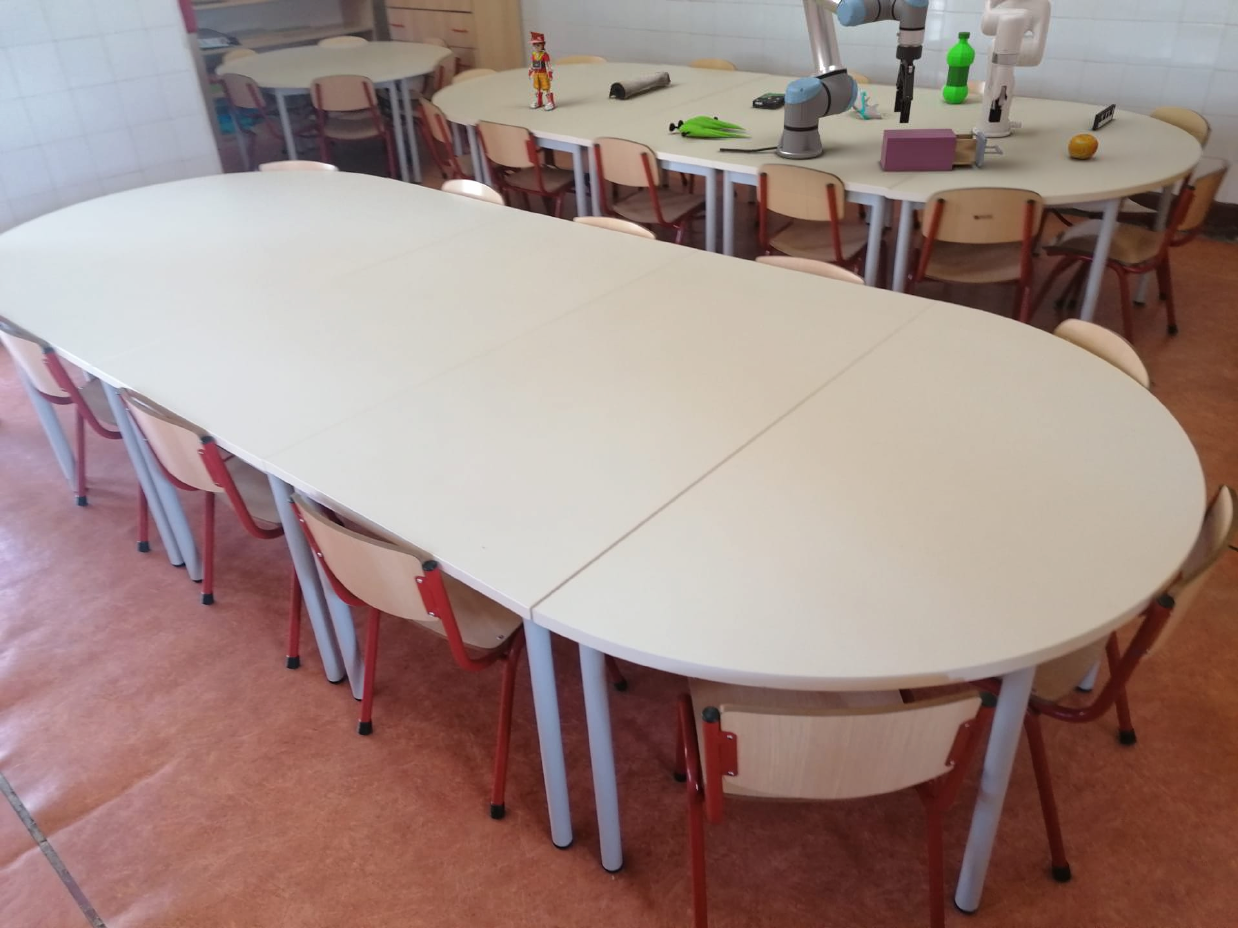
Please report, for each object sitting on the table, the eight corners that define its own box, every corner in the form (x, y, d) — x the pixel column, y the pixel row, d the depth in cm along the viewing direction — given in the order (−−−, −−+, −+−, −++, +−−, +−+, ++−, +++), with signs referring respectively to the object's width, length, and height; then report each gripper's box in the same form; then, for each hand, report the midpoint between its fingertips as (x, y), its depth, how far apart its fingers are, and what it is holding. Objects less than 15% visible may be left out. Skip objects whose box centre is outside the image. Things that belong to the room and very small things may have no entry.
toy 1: (525, 109, 381) (517, 32, 364) (534, 104, 388) (527, 28, 371) (550, 110, 377) (543, 32, 360) (559, 105, 384) (553, 28, 367)
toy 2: (658, 135, 331) (731, 150, 319) (659, 121, 329) (733, 135, 316) (693, 123, 352) (763, 136, 339) (694, 110, 349) (765, 122, 336)
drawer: (995, 157, 291) (1000, 131, 286) (1001, 166, 284) (1006, 139, 279) (914, 158, 294) (917, 132, 290) (918, 167, 287) (921, 140, 282)
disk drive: (775, 110, 359) (790, 101, 369) (775, 102, 358) (790, 94, 368) (751, 108, 364) (767, 99, 374) (752, 100, 362) (767, 92, 372)
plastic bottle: (973, 101, 354) (984, 32, 339) (955, 106, 349) (966, 36, 335) (952, 97, 361) (962, 29, 346) (934, 102, 356) (944, 33, 342)
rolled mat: (651, 76, 408) (662, 61, 399) (662, 93, 408) (674, 79, 400) (605, 92, 391) (616, 77, 383) (617, 110, 391) (628, 95, 383)
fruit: (1064, 149, 286) (1082, 126, 283) (1061, 151, 293) (1078, 129, 290) (1086, 163, 284) (1105, 141, 281) (1083, 166, 292) (1101, 144, 289)
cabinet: (946, 160, 294) (951, 128, 288) (951, 170, 286) (957, 137, 280) (880, 161, 297) (883, 129, 291) (883, 171, 289) (887, 138, 283)
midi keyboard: (1095, 130, 313) (1099, 115, 310) (1091, 129, 314) (1095, 115, 311) (1112, 119, 323) (1116, 104, 320) (1108, 118, 324) (1112, 104, 321)
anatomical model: (844, 88, 347) (870, 81, 346) (847, 115, 353) (872, 108, 352) (856, 97, 335) (882, 90, 334) (858, 125, 341) (884, 118, 340)
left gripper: (892, 37, 282) (884, 108, 294) (902, 53, 262) (893, 128, 274) (916, 36, 281) (908, 107, 293) (929, 52, 261) (919, 127, 273)
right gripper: (987, 54, 277) (976, 116, 287) (997, 64, 265) (986, 128, 275) (1012, 53, 276) (1001, 115, 286) (1024, 63, 264) (1011, 128, 274)
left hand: (901, 117), depth 283 cm, fingers open, 13 cm apart
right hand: (993, 121), depth 281 cm, fingers closed
